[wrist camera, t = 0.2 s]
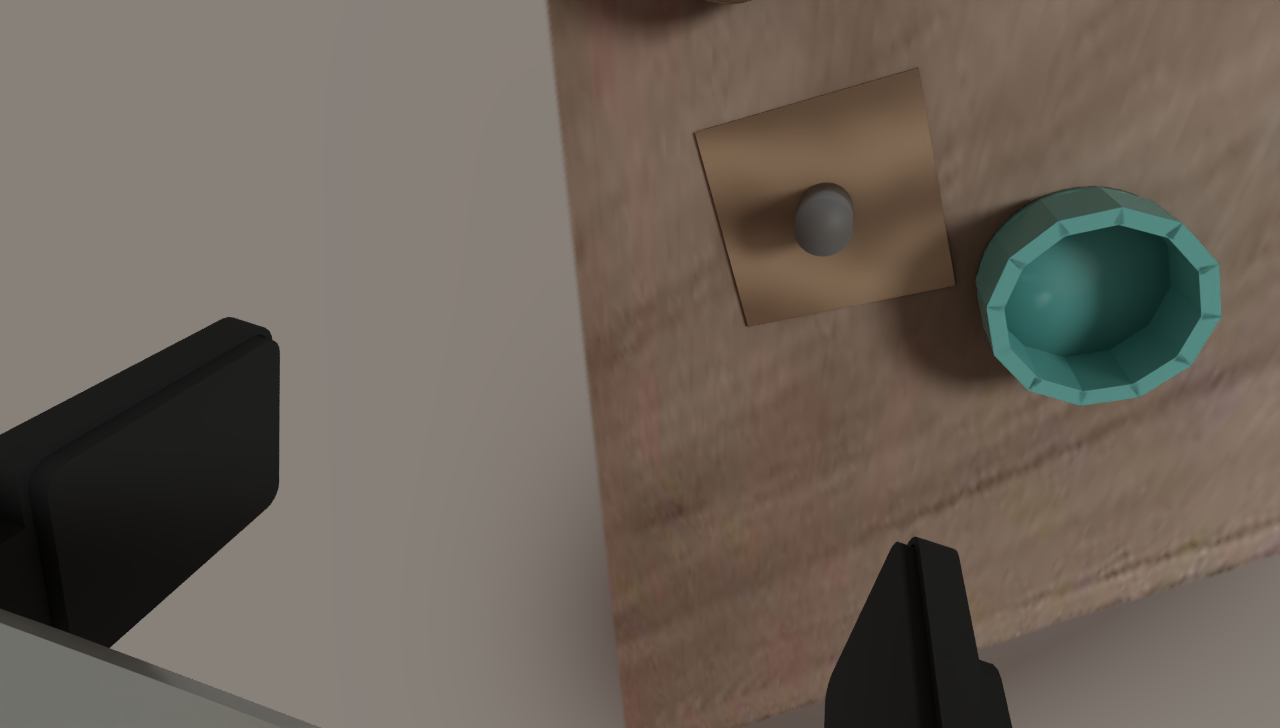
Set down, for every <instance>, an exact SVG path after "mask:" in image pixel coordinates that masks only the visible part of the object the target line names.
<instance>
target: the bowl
mask: <svg viewBox="0 0 1280 728" xmlns="http://www.w3.org/2000/svg"><path fill="white" fill-rule="evenodd" d="M975 281H976V292H977V299H978V304H979V308H980V312H981V318H982V324H983V327H984V330H985V333H986V335H987V338H988V341H989V343H990V346H991V349H992V351H993V354H994V356H995V357H996V358H997V359H998V360H999V361H1000V362H1001V363H1002V364H1003V365H1004V366H1005V367H1006V368H1007V369H1008V370H1009V371H1010V372H1011V373H1012V374H1013V375H1014V376H1015V377H1016V378H1017V379H1018V381H1019V382H1020V383H1021V384H1022V385H1023V386H1024V387H1025V388H1026V389H1027V390H1028V391H1032V392H1035V393H1039V394H1042V395H1046V396H1049V397H1052V398H1056V399H1059V400H1063V401H1066V402H1069V403H1073V404H1076V405H1080V406H1082V405H1089V404H1095V403H1102V402H1109V401H1116V400H1123V399H1130V398H1137V397H1140V396H1142V395H1144V394H1145V393H1147V392H1149V391H1150V390H1152V389H1154V388H1155V387H1157V386H1158V385H1160V384H1162V383H1163V382H1165V381H1167V380H1168V379H1170V378H1171V377H1173V376H1175V375H1176V374H1178V373H1180V372H1181V371H1183V370H1185V369H1186V368H1188V367H1189V366H1191V365H1192V363H1193V362H1194V360H1195V358H1196V357H1197V355H1198V354H1199V352H1200V350H1201V349H1202V347H1203V346H1204V344H1205V342H1206V341H1207V339H1208V337H1209V336H1210V334H1211V333H1212V331H1213V329H1214V328H1215V326H1216V325H1217V323H1218V321H1219V320H1220V318H1221V300H1220V278H1219V263H1218V262H1217V261H1216V260H1215V259H1214V258H1213V257H1212V256H1211V255H1210V253H1209V252H1208V251H1207V250H1206V249H1205V248H1204V247H1203V246H1202V244H1201V243H1200V242H1199V241H1198V240H1197V239H1196V238H1195V237H1194V235H1193V234H1192V233H1191V232H1190V231H1189V230H1188V229H1187V228H1186V226H1185V225H1184V224H1183V223H1182V222H1181V221H1179V220H1178V219H1177V218H1175V217H1174V216H1173V215H1171V214H1170V213H1168V212H1167V211H1166V210H1164V209H1163V208H1162V207H1160V206H1159V205H1158V204H1156V203H1155V202H1154V201H1152V200H1148V199H1145V198H1141V197H1138V196H1136V195H1134V194H1132V193H1129V192H1126V191H1123V190H1119V189H1114V188H1109V187H1097V186H1089V187H1076V188H1070V189H1065V190H1061V191H1058V192H1054V193H1051V194H1049V195H1046V196H1044V197H1041V198H1039V199H1037V200H1035V201H1033V202H1031V203H1030V204H1028V205H1026V206H1024V207H1023V208H1022V209H1020V210H1019V211H1017V212H1016V213H1015V214H1013V215H1012V216H1011V217H1010V218H1009V219H1008V220H1007V221H1005V222H1004V224H1003V225H1002V226H1001V227H1000V228H999V229H998V230H997V231H996V233H995V234H994V236H993V237H992V238H991V240H990V241H989V243H988V245H987V247H986V249H985V251H984V252H983V255H982V258H981V260H980V263H979V267H978V272H977V277H976V280H975Z"/></svg>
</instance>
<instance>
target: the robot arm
mask: <svg viewBox="0 0 1280 728" xmlns="http://www.w3.org/2000/svg"><path fill="white" fill-rule="evenodd" d="M279 376H280V351H279V346H278V344H277V343H276V342H275V341H273V340H272V336H271V334H270V331H269V330H267V329H266V328H264V327H261V326H258V325H255V324H252V323H249V322H245V321H242V320H239V319H236V318H232V317H227V318H224V319H221V320H219V321H217V322H215V323H213V324H211V325H210V326H208V327H206V328H204V329H202V330H200V331H198V332H196V333H194V334H192V335H191V336H188V337H187V338H185V339H183V340H181V341H179V342H177V343H175V344H174V345H171V346H169V347H167V348H166V349H164V350H162V351H160V352H158V353H156V354H154V355H152V356H150V357H148V358H146V359H145V360H143V361H141V362H139V363H137V364H135V365H133V366H131V367H129V368H127V369H125V370H123V371H121V372H120V373H118V374H116V375H114V376H112V377H110V378H108V379H106V380H104V381H103V382H100V383H99V384H97V385H95V386H93V387H91V388H89V389H87V390H85V391H83V392H81V393H79V394H77V395H75V396H74V397H72V398H70V399H68V400H66V401H64V402H62V403H60V404H58V405H56V406H54V407H53V408H51V409H49V410H47V411H45V412H43V413H41V414H39V415H37V416H35V417H33V418H31V419H30V420H28V421H26V422H24V423H22V424H20V425H18V426H16V427H14V428H12V429H10V430H9V431H7V432H5V433H3V434H1V435H0V728H320V727H317V726H315V725H312V724H310V723H307V722H304V721H301V720H299V719H296V718H294V717H291V716H288V715H286V714H283V713H280V712H278V711H275V710H273V709H270V708H267V707H265V706H262V705H259V704H257V703H254V702H252V701H249V700H246V699H243V698H241V697H238V696H236V695H233V694H230V693H228V692H225V691H222V690H220V689H217V688H214V687H212V686H209V685H206V684H204V683H201V682H198V681H196V680H193V679H190V678H188V677H185V676H182V675H180V674H177V673H174V672H172V671H169V670H166V669H164V668H161V667H158V666H155V665H153V664H150V663H148V662H145V661H142V660H139V659H137V658H134V657H131V656H129V655H126V654H123V653H121V652H118V651H115V650H112V649H110V647H111V646H112V645H113V644H115V642H117V641H118V640H119V639H120V638H121V637H122V636H123V635H125V634H126V633H127V632H128V631H129V630H130V629H131V628H133V627H134V626H135V625H136V624H137V623H138V622H139V621H140V620H141V619H142V618H144V617H145V616H146V615H147V614H148V613H149V612H151V611H152V610H153V609H154V608H155V607H156V606H157V605H158V604H160V603H161V602H162V601H163V600H164V599H165V598H166V597H167V596H168V595H169V594H171V593H172V592H173V591H174V590H175V589H176V588H178V587H179V586H180V585H181V584H182V583H183V582H184V581H185V580H187V579H188V578H189V577H190V576H191V575H192V574H193V573H194V572H196V571H197V570H198V569H199V568H200V567H201V566H202V565H203V564H205V563H206V562H207V561H208V560H209V559H210V558H211V557H213V556H214V555H215V554H216V553H217V552H218V551H219V550H220V549H222V548H223V547H224V546H225V545H226V544H227V543H228V542H229V541H230V540H232V539H233V538H234V537H235V536H236V535H237V534H238V533H239V532H240V531H242V530H243V529H244V528H245V527H246V526H247V525H248V524H250V523H251V522H252V521H253V520H254V519H255V518H256V517H257V516H259V515H260V514H261V513H262V512H263V511H264V510H265V509H267V507H268V506H269V505H270V504H271V503H272V501H273V500H274V498H275V496H276V494H277V491H278V486H279V394H280V392H279V390H280V389H279V388H280V387H279V386H280V384H279V383H280V377H279ZM824 728H1012V724H1011V720H1010V716H1009V711H1008V706H1007V702H1006V697H1005V693H1004V689H1003V684H1002V680H1001V677H1000V674H999V672H998V670H997V668H996V667H995V666H994V665H993V664H990V663H987V662H984V661H981V660H979V657H978V652H977V647H976V642H975V637H974V631H973V626H972V621H971V616H970V611H969V606H968V601H967V596H966V590H965V585H964V580H963V575H962V570H961V565H960V560H959V555H958V552H957V551H956V550H955V549H953V548H950V547H946V546H943V545H940V544H937V543H934V542H931V541H928V540H925V539H921V538H918V537H913V538H912V539H911V540H910V541H909V542H908V544H907V545H906V544H903V543H899V542H896V543H895V544H894V545H893V546H892V548H891V550H890V552H889V554H888V556H887V558H886V560H885V562H884V565H883V567H882V569H881V571H880V573H879V575H878V577H877V579H876V581H875V584H874V586H873V588H872V590H871V592H870V594H869V596H868V598H867V601H866V603H865V605H864V607H863V609H862V611H861V613H860V615H859V618H858V620H857V622H856V624H855V626H854V628H853V630H852V632H851V635H850V637H849V639H848V641H847V643H846V645H845V647H844V649H843V652H842V654H841V656H840V658H839V660H838V662H837V664H836V666H835V668H834V671H833V673H832V675H831V678H830V681H829V684H828V688H827V692H826V699H825V722H824Z"/></svg>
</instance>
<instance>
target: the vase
mask: <svg viewBox="0 0 1280 728" xmlns="http://www.w3.org/2000/svg"><path fill="white" fill-rule="evenodd" d="M705 1H709V2H712V3H718V4H739V3H744V2H747V1H751V0H705Z"/></svg>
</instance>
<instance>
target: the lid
mask: <svg viewBox="0 0 1280 728" xmlns="http://www.w3.org/2000/svg"><path fill="white" fill-rule="evenodd" d="M695 135H696V139H697V142H698V146H699V149H700V153H701V157H702V160H703V164H704V168H705V171H706V175H707V179H708V182H709V186H710V190H711V193H712V197H713V201H714V204H715V208H716V211H717V215H718V219H719V222H720V226H721V230H722V233H723V237H724V241H725V244H726V248H727V252H728V255H729V259H730V262H731V266H732V270H733V273H734V277H735V281H736V284H737V288H738V292H739V295H740V299H741V303H742V306H743V310H744V314H745V317H746V321H747V324H748V327H750V326H755V325H760V324H765V323H770V322H775V321H780V320H785V319H790V318H795V317H800V316H805V315H810V314H815V313H820V312H825V311H830V310H835V309H840V308H845V307H850V306H855V305H860V304H865V303H870V302H875V301H881V300H886V299H891V298H896V297H901V296H906V295H911V294H916V293H921V292H926V291H931V290H936V289H941V288H946V287H951V286H956V285H955V279H954V273H953V267H952V261H951V256H950V250H949V244H948V238H947V232H946V226H945V220H944V215H943V209H942V203H941V197H940V191H939V185H938V179H937V174H936V168H935V162H934V156H933V150H932V144H931V138H930V133H929V127H928V121H927V115H926V109H925V103H924V97H923V92H922V86H921V80H920V74H919V68H915V69H912V70H908V71H905V72H901V73H898V74H894V75H891V76H887V77H884V78H880V79H877V80H874V81H870V82H867V83H863V84H860V85H856V86H853V87H849V88H846V89H842V90H839V91H835V92H832V93H829V94H825V95H822V96H818V97H815V98H811V99H808V100H804V101H801V102H797V103H794V104H791V105H787V106H784V107H780V108H777V109H773V110H770V111H766V112H763V113H759V114H756V115H752V116H749V117H746V118H742V119H739V120H735V121H732V122H728V123H725V124H721V125H718V126H714V127H711V128H707V129H704V130H701V131H697V132H695Z"/></svg>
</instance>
